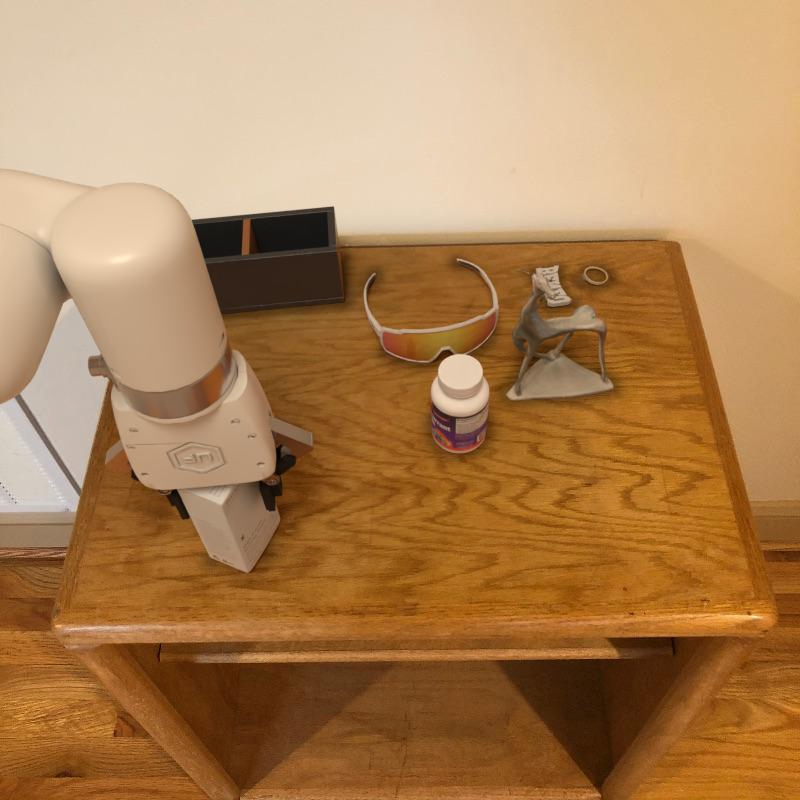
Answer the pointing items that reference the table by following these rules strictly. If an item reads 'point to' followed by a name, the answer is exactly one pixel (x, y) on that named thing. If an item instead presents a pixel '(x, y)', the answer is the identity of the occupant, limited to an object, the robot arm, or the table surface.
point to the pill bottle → (459, 404)
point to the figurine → (555, 351)
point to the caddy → (272, 259)
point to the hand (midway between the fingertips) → (229, 498)
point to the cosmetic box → (231, 522)
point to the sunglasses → (437, 332)
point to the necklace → (553, 286)
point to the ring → (594, 281)
